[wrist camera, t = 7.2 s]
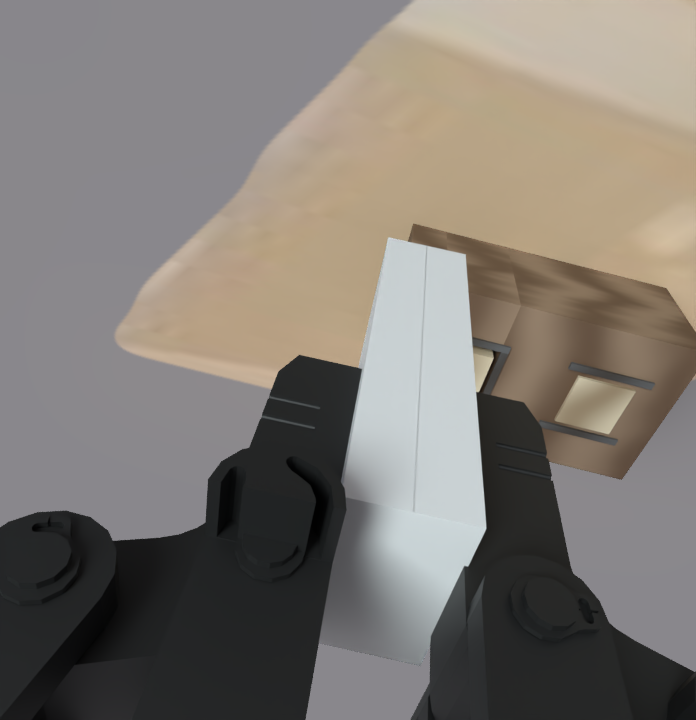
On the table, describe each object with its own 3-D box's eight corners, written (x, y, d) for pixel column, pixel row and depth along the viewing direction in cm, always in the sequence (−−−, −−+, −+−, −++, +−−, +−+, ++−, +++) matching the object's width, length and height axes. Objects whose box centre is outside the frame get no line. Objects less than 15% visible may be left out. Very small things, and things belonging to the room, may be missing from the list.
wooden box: (666, 288, 46) (711, 355, 39) (596, 405, 53) (622, 481, 45) (413, 223, 46) (408, 279, 38) (375, 350, 53) (365, 418, 45)
